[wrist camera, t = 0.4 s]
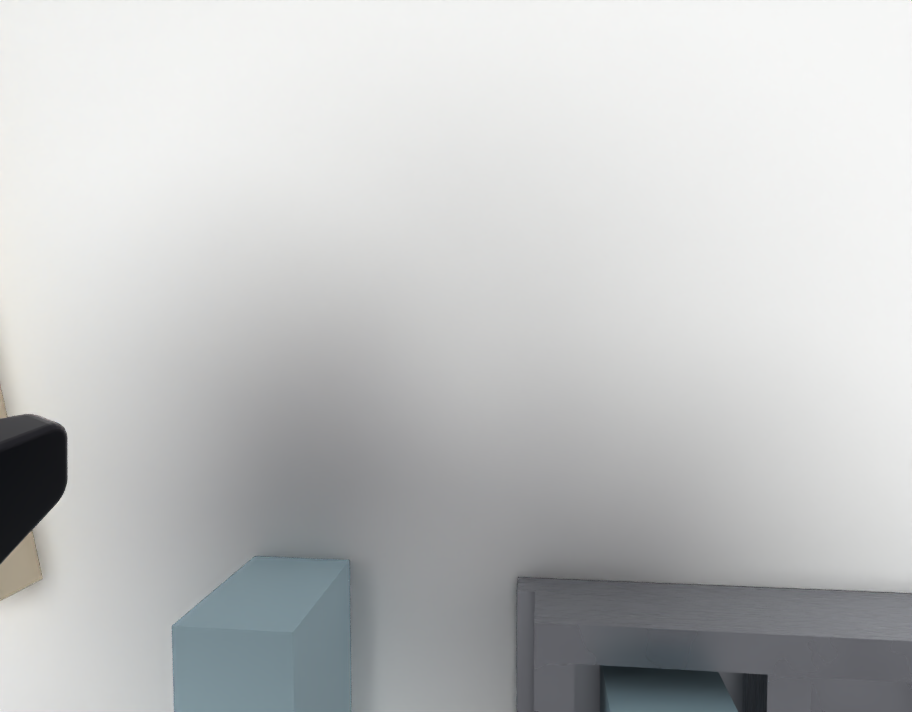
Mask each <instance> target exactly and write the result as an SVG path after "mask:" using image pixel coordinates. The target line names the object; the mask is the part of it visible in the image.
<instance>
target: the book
mask: <svg viewBox="0 0 912 712" xmlns="http://www.w3.org/2000/svg"><path fill="white" fill-rule="evenodd" d="M6 417H7V413H6V409H5V404H4V399H3V395H2V390H1V386H0V418H6ZM41 579H43V578H42V574H41V569H40V564H39V560H38V555H37V551H36V546H35V542H34V537H33V532H32V531H31V532H30V533H29V534H28V535H27V536H26V537H25V538H24V539H23V540H22V542H21V543H20V544H19V545H18V546H17V547H16V548H15V549H14V550H13V551H12V552H11V553H10V555H9V556H8V557H7V558H6V559H5V560H4V561H3V562H2V563H1V564H0V601H1V600H3V599H5V598H7V597H9V596H11V595H13V594H14V593H16V592H18V591H20V590H22V589H24V588H26V587H28V586H30V585H32V584H33V583H35V582H37V581H39V580H41Z"/></svg>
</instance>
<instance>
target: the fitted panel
mask: <svg viewBox="0 0 912 712" xmlns="http://www.w3.org/2000/svg"><path fill="white" fill-rule="evenodd" d="M600 712H738V710H737V708H736V706H735V704H734V702H733V700H732V698H731V696H730V694H729V692H728V690H727V688H726V686H725V684H724V682H723V680H722V678H721V676H720V674H719V672H712V671H694V670H676V669H659V668H641V667H623V666H605V665H600Z"/></svg>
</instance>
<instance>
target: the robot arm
mask: <svg viewBox="0 0 912 712" xmlns="http://www.w3.org/2000/svg"><path fill="white" fill-rule="evenodd" d="M66 485H67V433H66V431H65V429H64V427H63V426H61V425H60V424H59V423H56V422H54V421H51V420H48V419H46V418H43V417H41V416H38V415H34V414H24V415H18V416H12V417H6V418H0V564H1V563H2V562H3V561H4V560H5V559H6V558H7V557H8V556H9V555H10V553H11V552H12V551H13V550H14V549H15V548H16V547H17V546H18V545H19V544H20V543H21V542H22V540H23V539H24V538H25V537H26V536H27V535H28V534H29V533H30V532H31V531H32V530H33V528H34V527H35V526H36V525H37V524H38V523H39V522H40V521H41V520H42V519H43V518H44V517H45V515H46V514H47V513H48V512H49V511H50V510H51V509H52V508H53V507H54V506H55V505H56V503H57V502H58V501H59V500H60V498H61V496H62V495H63V493H64V491H65V488H66Z"/></svg>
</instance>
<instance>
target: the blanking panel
mask: <svg viewBox="0 0 912 712" xmlns="http://www.w3.org/2000/svg"><path fill="white" fill-rule="evenodd" d="M172 649H173V686H174V712H351V634H350V560H337V559H312V558H288V557H263V556H254V557H253V558H252V559H251V560H250V561H248V562H247V563H246V564H245V565H244V566H243V567H241V568H240V569H239V570H238V571H237V572H235V573H234V574H233V575H232V576H231V577H229V578H228V579H227V580H226V581H225V582H224V583H222V584H221V585H220V586H219V587H218V588H216V589H215V590H214V591H213V592H212V593H210V594H209V595H208V596H207V597H206V598H204V599H203V600H202V601H201V602H200V603H199V604H197V605H196V606H195V607H194V608H193V609H191V610H190V611H189V612H188V613H187V614H185V615H184V616H183V617H182V618H181V619H179V620H178V621H177V622H176V623H175V624H174V625H172Z"/></svg>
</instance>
